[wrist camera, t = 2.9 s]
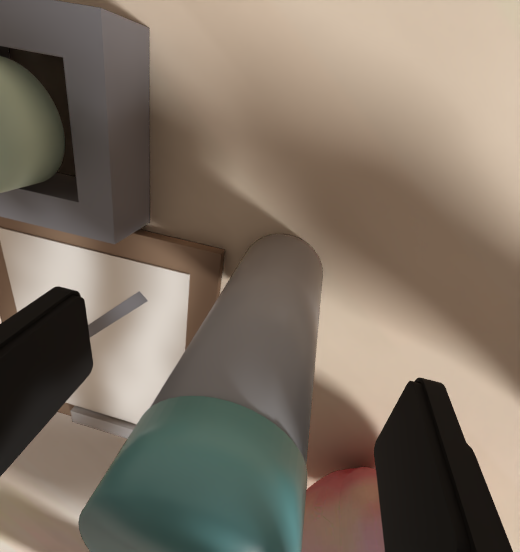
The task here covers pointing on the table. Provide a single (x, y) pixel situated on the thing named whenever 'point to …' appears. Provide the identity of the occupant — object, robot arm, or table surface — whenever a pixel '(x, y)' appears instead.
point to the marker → (225, 423)
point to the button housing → (89, 118)
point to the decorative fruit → (343, 513)
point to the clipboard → (116, 308)
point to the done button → (27, 129)
